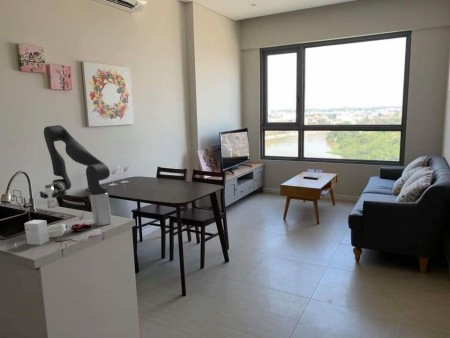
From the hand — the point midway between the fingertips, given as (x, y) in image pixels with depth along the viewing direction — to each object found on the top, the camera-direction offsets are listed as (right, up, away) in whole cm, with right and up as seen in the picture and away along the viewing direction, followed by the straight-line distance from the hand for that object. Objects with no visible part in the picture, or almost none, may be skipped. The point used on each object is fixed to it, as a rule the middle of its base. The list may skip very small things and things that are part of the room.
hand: (49, 196), depth 177 cm
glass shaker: (0, -6, +4) cm, 7 cm away
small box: (+1, -21, -13) cm, 25 cm away
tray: (+2, -19, -1) cm, 20 cm away
